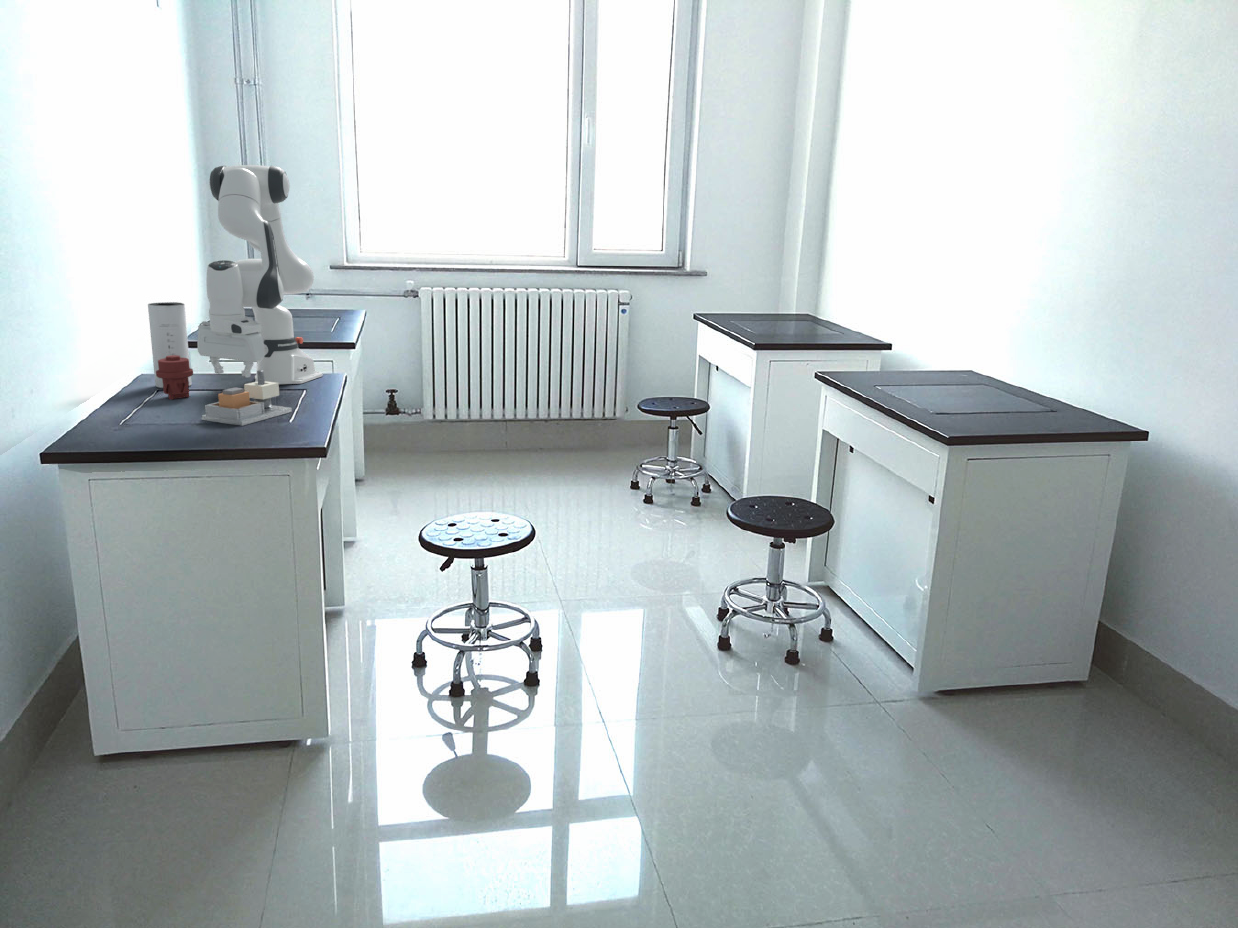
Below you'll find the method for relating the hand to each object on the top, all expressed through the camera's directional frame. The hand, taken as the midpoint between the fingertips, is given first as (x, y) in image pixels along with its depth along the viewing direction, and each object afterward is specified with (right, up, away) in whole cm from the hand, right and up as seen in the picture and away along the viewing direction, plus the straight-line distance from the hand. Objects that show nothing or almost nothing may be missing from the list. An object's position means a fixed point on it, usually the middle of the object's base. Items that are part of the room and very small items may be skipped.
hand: (232, 375), depth 261 cm
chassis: (+2, -11, +7) cm, 13 cm away
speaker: (-36, 0, +43) cm, 56 cm away
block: (0, -11, +3) cm, 11 cm away
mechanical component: (-27, -4, +27) cm, 39 cm away
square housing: (+4, -5, +11) cm, 13 cm away
